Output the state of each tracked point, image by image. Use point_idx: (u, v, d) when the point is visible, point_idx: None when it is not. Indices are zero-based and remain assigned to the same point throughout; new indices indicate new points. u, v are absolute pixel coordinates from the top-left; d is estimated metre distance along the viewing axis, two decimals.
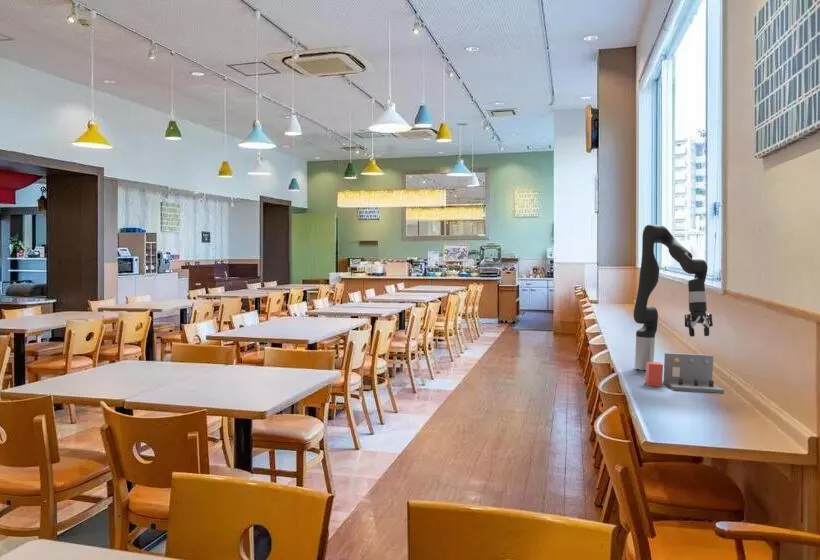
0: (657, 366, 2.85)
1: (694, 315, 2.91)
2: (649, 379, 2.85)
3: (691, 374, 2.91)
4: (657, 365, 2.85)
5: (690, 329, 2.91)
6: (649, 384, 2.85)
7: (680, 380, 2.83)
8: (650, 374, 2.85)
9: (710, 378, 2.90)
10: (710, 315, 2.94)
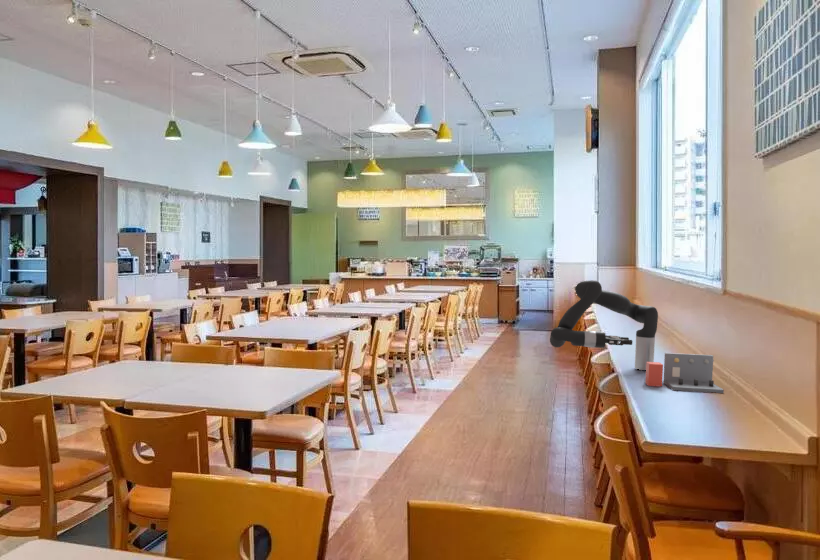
0: (657, 366, 2.85)
1: None
2: (649, 379, 2.85)
3: (691, 374, 2.91)
4: (657, 365, 2.85)
5: None
6: (649, 384, 2.85)
7: (680, 380, 2.83)
8: (650, 374, 2.85)
9: (710, 378, 2.90)
10: None
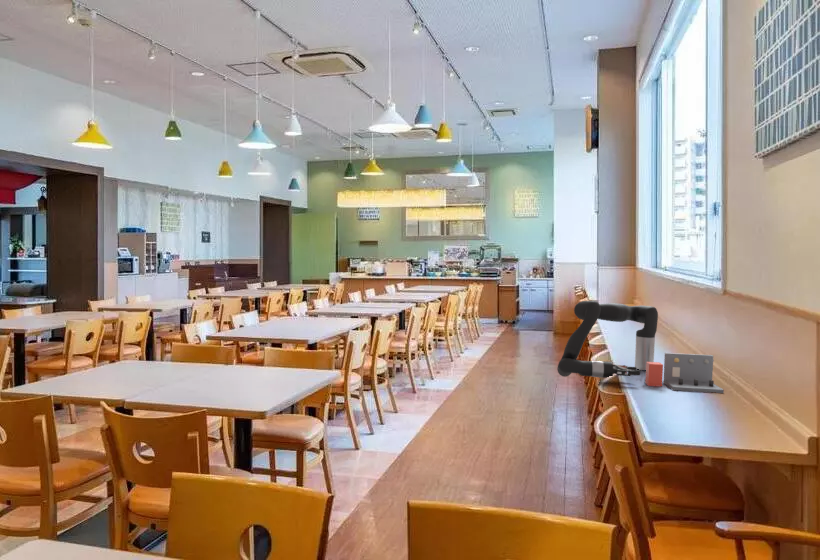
0: (657, 366, 2.85)
1: None
2: (649, 379, 2.85)
3: (691, 374, 2.91)
4: (657, 365, 2.85)
5: None
6: (649, 384, 2.85)
7: (680, 380, 2.83)
8: (650, 374, 2.85)
9: (710, 378, 2.90)
10: None
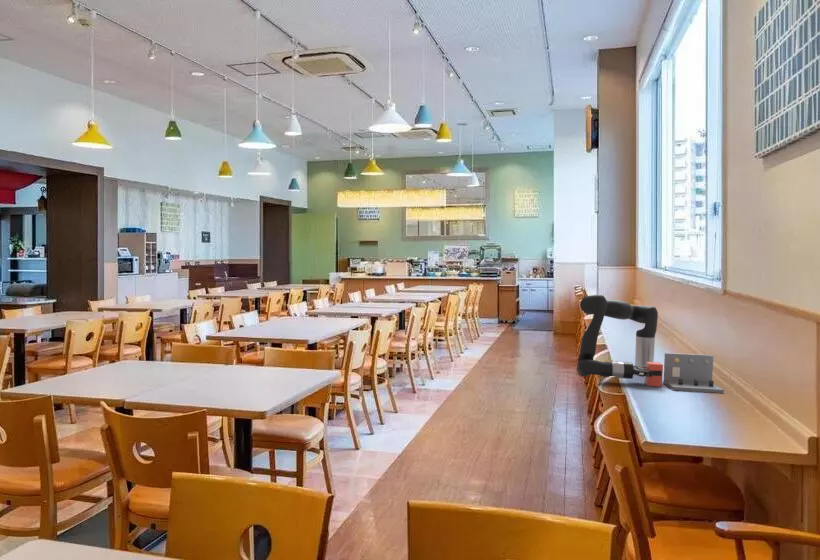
0: (657, 366, 2.85)
1: None
2: (649, 379, 2.85)
3: (691, 374, 2.91)
4: (657, 365, 2.85)
5: None
6: (649, 384, 2.85)
7: (680, 380, 2.83)
8: None
9: (710, 378, 2.90)
10: None
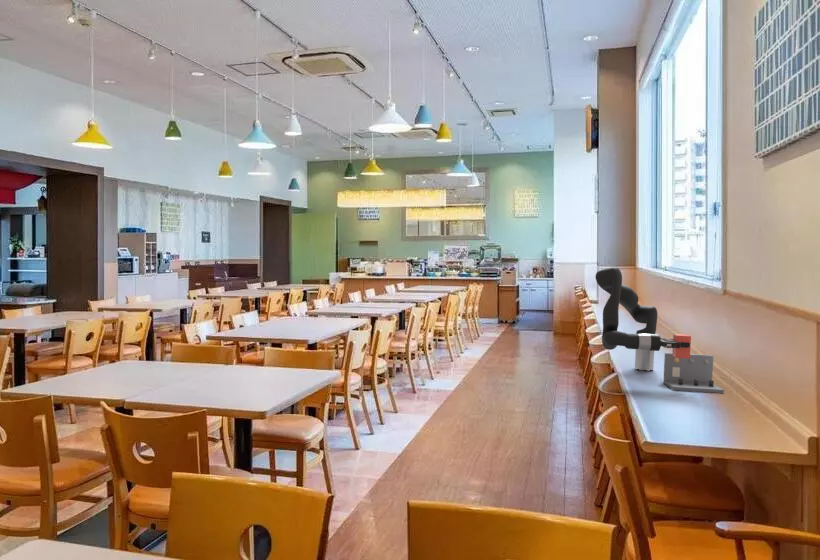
0: (685, 338, 2.79)
1: None
2: (677, 351, 2.80)
3: (691, 374, 2.91)
4: (685, 337, 2.79)
5: None
6: (677, 356, 2.80)
7: (680, 380, 2.83)
8: None
9: (710, 378, 2.90)
10: None
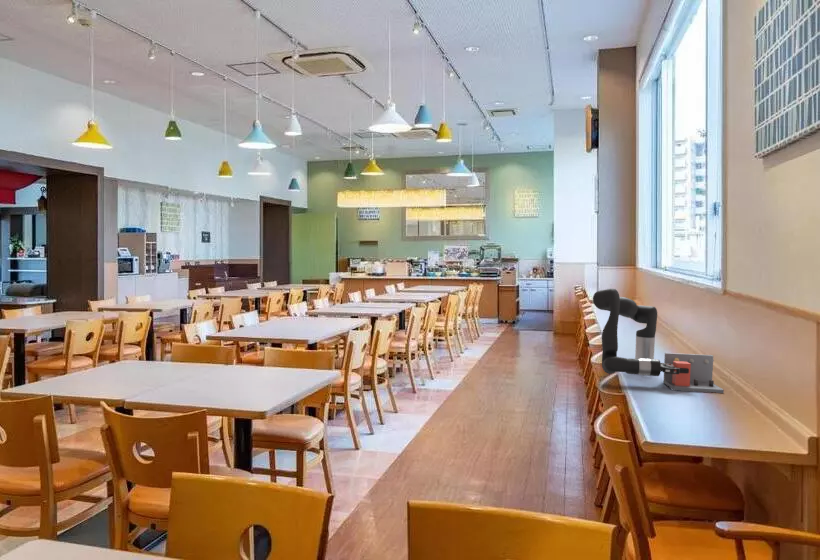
0: (685, 365, 2.80)
1: None
2: (676, 378, 2.81)
3: (691, 374, 2.91)
4: (685, 364, 2.80)
5: None
6: (676, 384, 2.81)
7: None
8: None
9: (710, 378, 2.90)
10: None
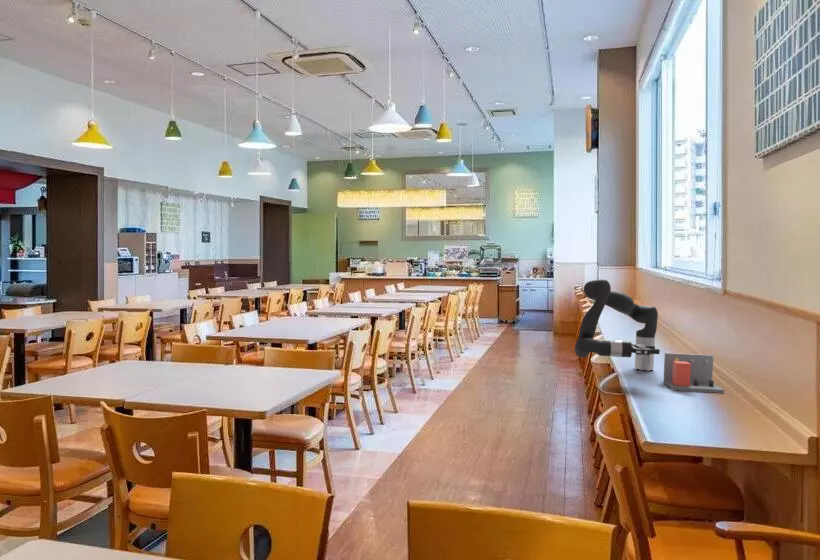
0: (685, 365, 2.80)
1: None
2: (676, 378, 2.81)
3: (691, 374, 2.91)
4: (685, 364, 2.80)
5: None
6: (676, 384, 2.81)
7: None
8: (677, 373, 2.80)
9: (710, 378, 2.90)
10: None
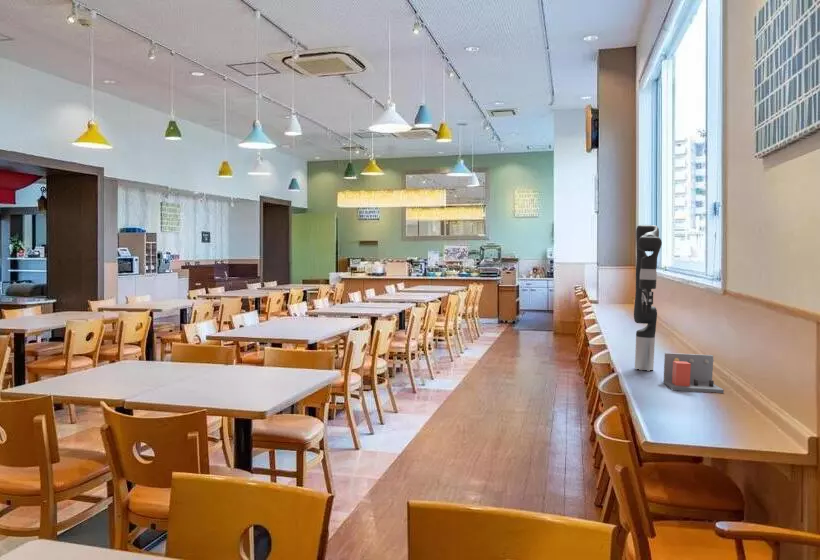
0: (685, 365, 2.80)
1: (643, 291, 3.02)
2: (676, 378, 2.81)
3: (691, 374, 2.91)
4: (685, 364, 2.80)
5: None
6: (676, 384, 2.81)
7: None
8: (677, 373, 2.80)
9: (710, 378, 2.90)
10: (647, 293, 2.92)
